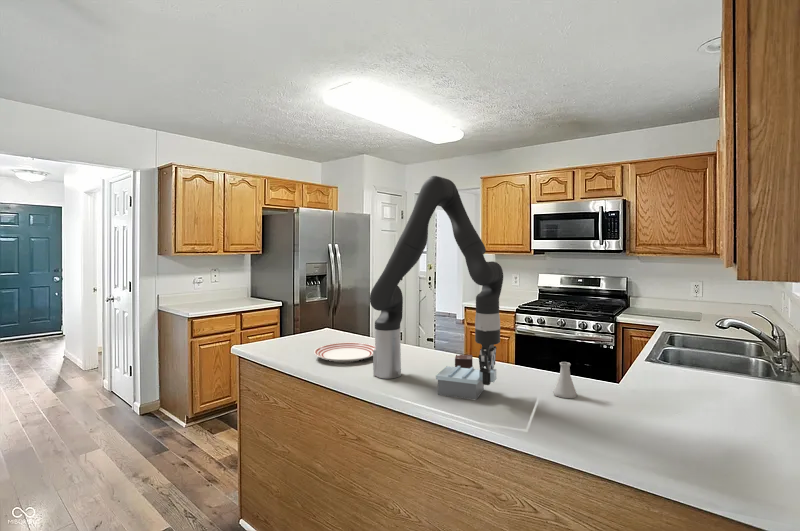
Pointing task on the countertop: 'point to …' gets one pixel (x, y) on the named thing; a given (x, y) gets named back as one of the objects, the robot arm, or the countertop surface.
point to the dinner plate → (345, 351)
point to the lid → (464, 375)
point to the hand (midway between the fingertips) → (487, 382)
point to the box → (463, 361)
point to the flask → (565, 383)
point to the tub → (460, 389)
